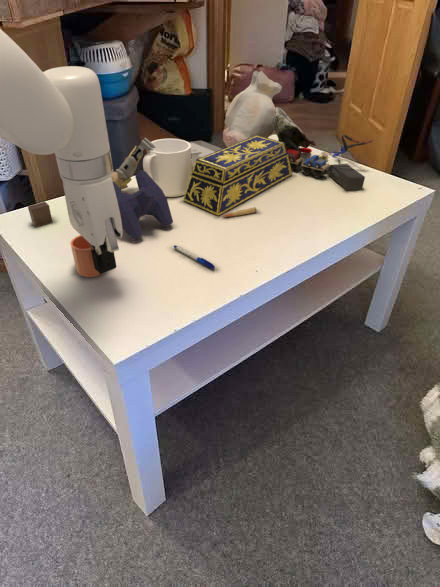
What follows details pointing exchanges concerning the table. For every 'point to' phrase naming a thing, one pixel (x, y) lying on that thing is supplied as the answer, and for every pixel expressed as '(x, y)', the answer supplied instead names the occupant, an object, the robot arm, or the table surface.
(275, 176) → the decorative box
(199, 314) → the table surface
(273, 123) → the rock
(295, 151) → the toy train
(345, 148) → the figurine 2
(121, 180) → the toy
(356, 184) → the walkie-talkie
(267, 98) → the crumpled bag
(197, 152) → the skate ramp
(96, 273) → the cup
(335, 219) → the table surface
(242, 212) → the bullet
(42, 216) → the stop block
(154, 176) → the mug
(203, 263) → the ballpoint pen
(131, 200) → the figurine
